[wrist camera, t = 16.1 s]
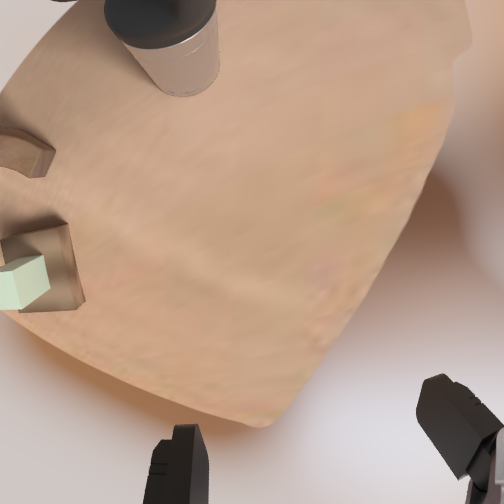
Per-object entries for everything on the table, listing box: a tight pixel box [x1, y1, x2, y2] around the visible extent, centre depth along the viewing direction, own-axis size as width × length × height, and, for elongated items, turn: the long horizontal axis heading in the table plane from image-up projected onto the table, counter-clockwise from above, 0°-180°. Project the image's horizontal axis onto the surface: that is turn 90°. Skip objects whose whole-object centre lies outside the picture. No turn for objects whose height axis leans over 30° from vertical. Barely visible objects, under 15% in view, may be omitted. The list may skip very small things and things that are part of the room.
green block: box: [0, 255, 50, 310], centre depth 34 cm, size 5×5×8 cm
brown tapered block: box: [0, 224, 85, 313], centre depth 39 cm, size 12×12×4 cm
